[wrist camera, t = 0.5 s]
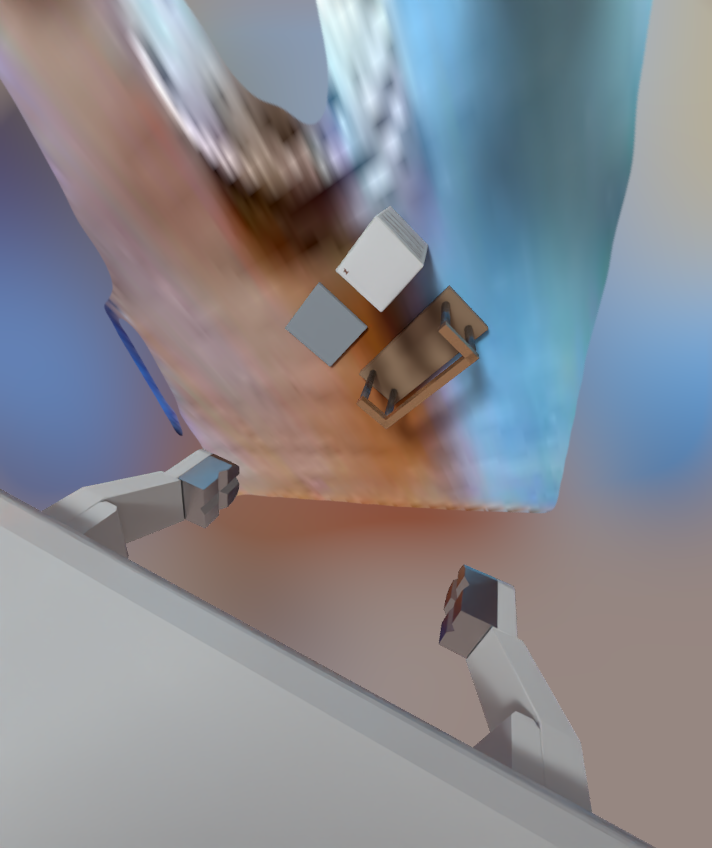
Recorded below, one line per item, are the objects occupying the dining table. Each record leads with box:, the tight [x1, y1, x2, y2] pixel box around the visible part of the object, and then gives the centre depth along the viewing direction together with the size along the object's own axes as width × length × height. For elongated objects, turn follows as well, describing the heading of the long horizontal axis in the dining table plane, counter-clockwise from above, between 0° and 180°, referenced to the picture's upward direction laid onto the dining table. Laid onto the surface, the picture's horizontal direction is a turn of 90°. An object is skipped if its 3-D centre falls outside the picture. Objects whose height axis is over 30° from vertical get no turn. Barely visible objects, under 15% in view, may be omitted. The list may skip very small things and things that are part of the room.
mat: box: [285, 282, 367, 366], centre depth 56 cm, size 10×10×1 cm
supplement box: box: [336, 206, 428, 312], centre depth 43 cm, size 7×7×13 cm
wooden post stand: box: [357, 301, 479, 429], centre depth 51 cm, size 17×6×10 cm, turn 140°
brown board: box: [359, 285, 488, 404], centre depth 55 cm, size 20×8×1 cm, turn 140°
